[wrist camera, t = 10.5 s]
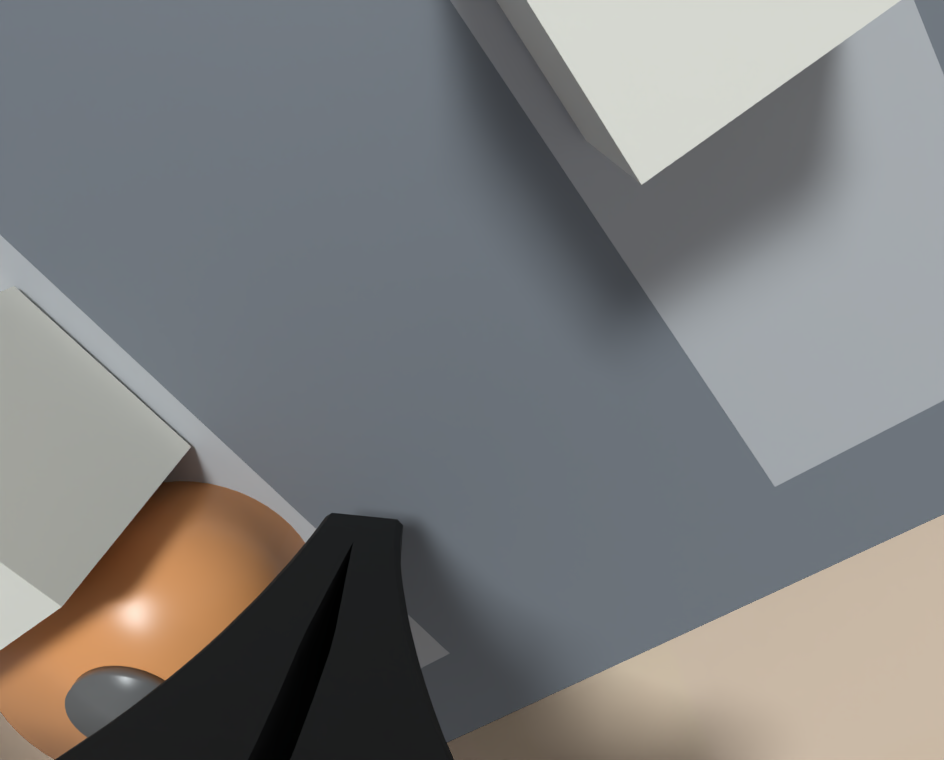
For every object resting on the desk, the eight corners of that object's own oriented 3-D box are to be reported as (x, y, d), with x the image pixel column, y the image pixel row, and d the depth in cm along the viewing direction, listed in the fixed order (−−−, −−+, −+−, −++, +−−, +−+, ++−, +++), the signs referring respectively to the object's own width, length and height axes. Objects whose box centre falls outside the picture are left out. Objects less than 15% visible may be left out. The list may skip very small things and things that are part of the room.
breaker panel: (-320, 308, 13) (-440, 343, 11) (845, -1245, 5) (990, -1792, 4) (306, 769, 19) (287, 836, 17) (1243, 315, 11) (1365, 356, 10)
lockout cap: (48, 544, 13) (-83, 683, 10) (209, 441, 12) (113, 566, 9) (207, 676, 15) (134, 829, 12) (362, 598, 14) (325, 748, 11)
